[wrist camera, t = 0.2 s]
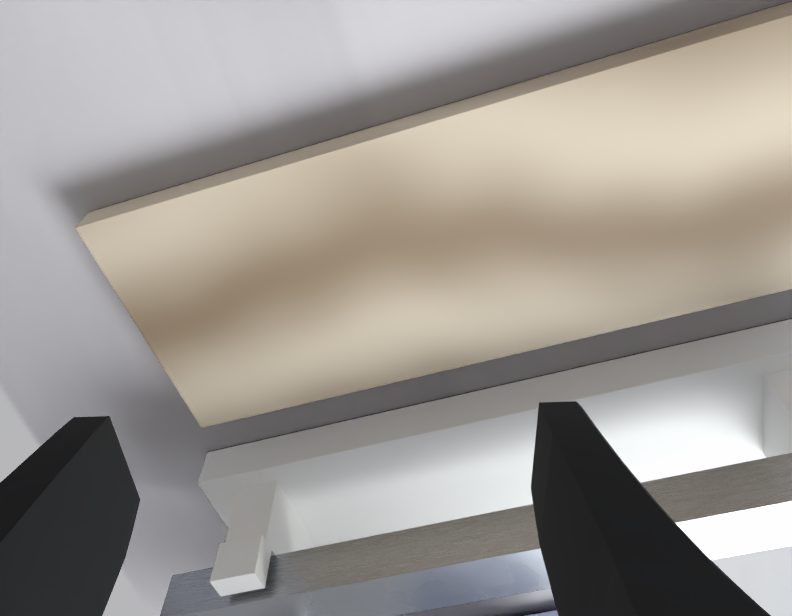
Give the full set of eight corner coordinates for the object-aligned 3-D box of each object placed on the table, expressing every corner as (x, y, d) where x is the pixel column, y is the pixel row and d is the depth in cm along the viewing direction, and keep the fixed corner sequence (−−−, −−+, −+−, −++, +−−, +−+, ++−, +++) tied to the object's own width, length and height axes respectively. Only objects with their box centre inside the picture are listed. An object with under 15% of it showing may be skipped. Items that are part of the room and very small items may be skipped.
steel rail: (933, 470, 20) (971, 513, 19) (198, 608, 24) (187, 652, 23) (942, 423, 19) (983, 465, 18) (172, 575, 23) (158, 619, 22)
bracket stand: (823, 419, 24) (958, 596, 19) (260, 535, 28) (224, 714, 22) (831, 309, 22) (991, 475, 16) (207, 452, 25) (151, 631, 19)
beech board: (800, 266, 21) (817, 283, 20) (208, 408, 24) (201, 428, 23) (809, -4, 17) (830, 3, 16) (88, 212, 20) (74, 228, 19)
